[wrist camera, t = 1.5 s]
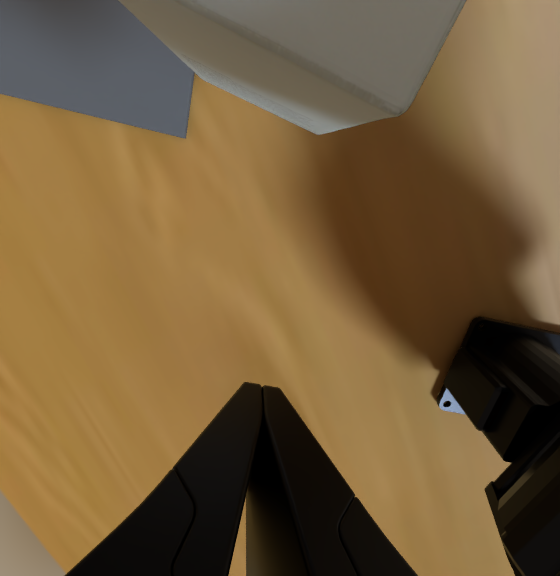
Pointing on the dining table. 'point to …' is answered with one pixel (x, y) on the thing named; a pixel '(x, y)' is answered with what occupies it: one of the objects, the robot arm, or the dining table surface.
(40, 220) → the dining table surface
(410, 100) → the small box
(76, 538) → the dining table surface
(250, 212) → the dining table surface
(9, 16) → the mat
